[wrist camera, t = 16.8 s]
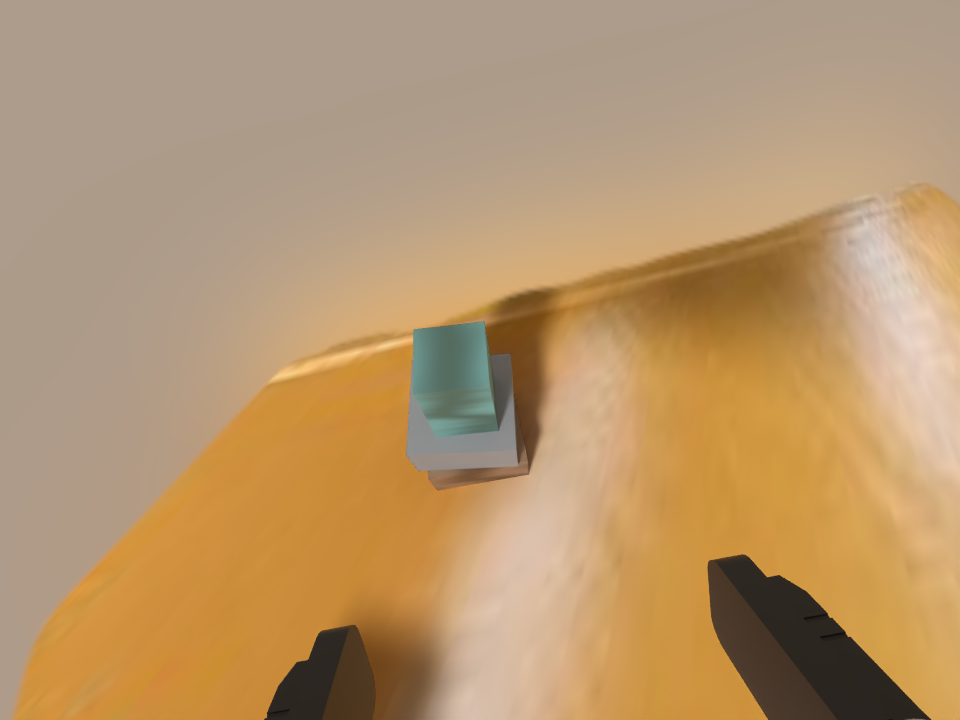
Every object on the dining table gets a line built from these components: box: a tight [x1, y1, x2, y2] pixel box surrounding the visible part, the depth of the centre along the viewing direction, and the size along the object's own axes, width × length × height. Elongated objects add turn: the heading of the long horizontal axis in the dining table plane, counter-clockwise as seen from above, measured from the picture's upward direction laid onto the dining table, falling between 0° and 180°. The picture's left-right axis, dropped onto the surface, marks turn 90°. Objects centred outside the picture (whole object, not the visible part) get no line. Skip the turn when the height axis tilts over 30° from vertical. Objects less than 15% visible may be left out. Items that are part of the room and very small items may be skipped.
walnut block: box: [428, 396, 529, 490], centre depth 40 cm, size 8×8×4 cm
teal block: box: [413, 322, 499, 437], centre depth 31 cm, size 5×5×8 cm
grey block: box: [406, 353, 518, 471], centre depth 36 cm, size 8×8×4 cm
